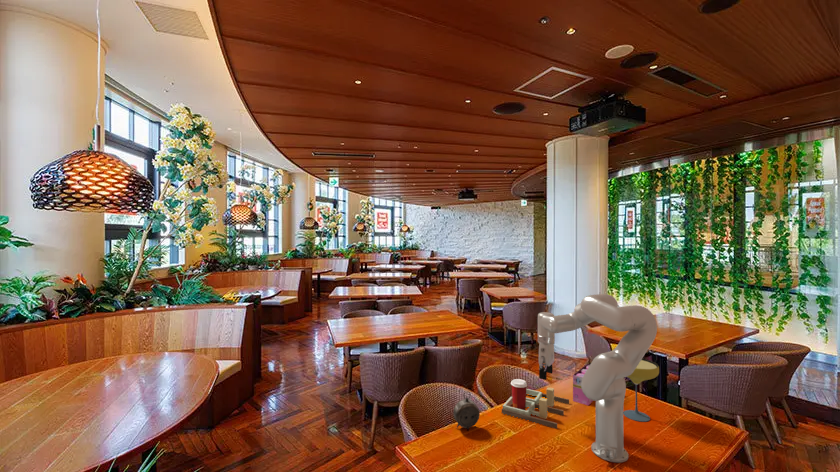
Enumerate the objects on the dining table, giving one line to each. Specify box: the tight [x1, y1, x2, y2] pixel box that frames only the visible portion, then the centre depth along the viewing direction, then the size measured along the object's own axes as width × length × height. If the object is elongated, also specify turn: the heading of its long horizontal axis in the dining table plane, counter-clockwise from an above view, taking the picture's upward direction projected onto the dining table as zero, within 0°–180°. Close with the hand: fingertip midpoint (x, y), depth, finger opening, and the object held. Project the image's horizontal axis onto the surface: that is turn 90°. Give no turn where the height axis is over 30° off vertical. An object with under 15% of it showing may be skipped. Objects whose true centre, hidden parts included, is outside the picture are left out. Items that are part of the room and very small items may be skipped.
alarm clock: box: [453, 391, 480, 430], centre depth 154 cm, size 11×5×16 cm, turn 102°
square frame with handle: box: [526, 387, 555, 408], centre depth 181 cm, size 12×19×8 cm, turn 57°
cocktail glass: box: [623, 358, 660, 423], centre depth 166 cm, size 18×18×25 cm
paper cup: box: [510, 378, 528, 411], centre depth 171 cm, size 8×8×14 cm
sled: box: [502, 396, 548, 420], centre depth 169 cm, size 12×19×8 cm, turn 57°
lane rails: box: [501, 392, 570, 429], centre depth 173 cm, size 29×25×2 cm
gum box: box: [572, 363, 594, 406], centre depth 188 cm, size 24×8×14 cm, turn 138°
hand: (545, 375), depth 165 cm, fingers open, 9 cm apart
